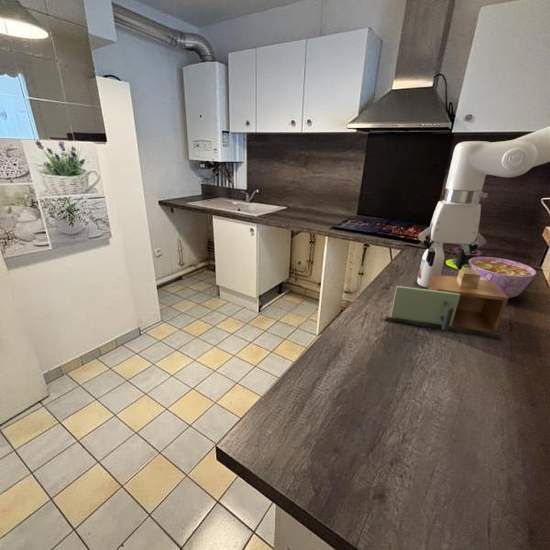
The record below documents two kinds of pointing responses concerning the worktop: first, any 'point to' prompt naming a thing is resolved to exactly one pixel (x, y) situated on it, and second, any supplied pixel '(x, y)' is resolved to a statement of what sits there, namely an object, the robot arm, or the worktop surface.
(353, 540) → the worktop surface
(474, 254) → the toy cauldron
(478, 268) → the bowl of food
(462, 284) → the block
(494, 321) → the cupboard
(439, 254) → the milk bottle
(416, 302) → the sliding door
